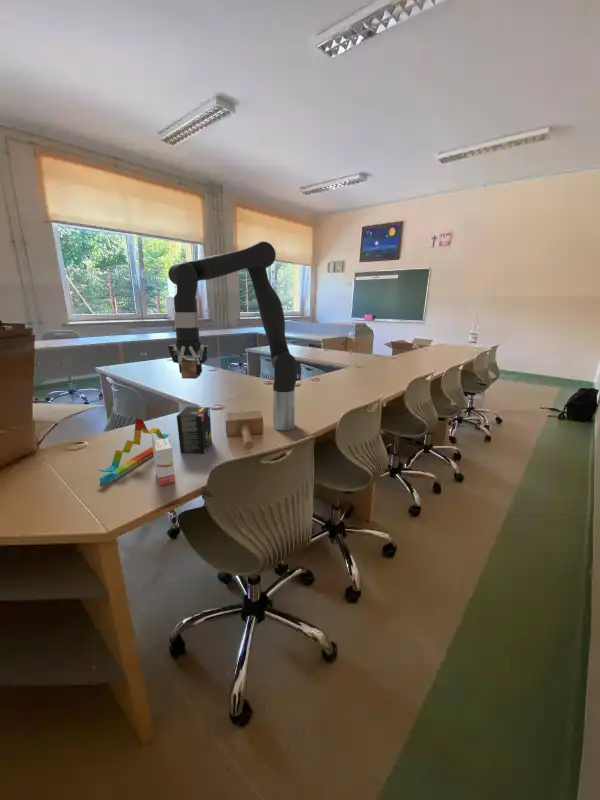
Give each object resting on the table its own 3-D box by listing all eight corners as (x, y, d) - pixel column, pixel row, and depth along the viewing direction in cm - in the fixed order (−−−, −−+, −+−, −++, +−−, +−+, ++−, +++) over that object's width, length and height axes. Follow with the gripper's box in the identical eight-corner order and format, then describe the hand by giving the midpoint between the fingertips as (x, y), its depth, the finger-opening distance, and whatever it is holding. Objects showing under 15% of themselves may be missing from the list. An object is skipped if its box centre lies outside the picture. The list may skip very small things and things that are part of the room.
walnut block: (200, 375, 124) (199, 358, 122) (196, 378, 119) (194, 361, 117) (186, 375, 124) (185, 358, 122) (181, 378, 119) (180, 360, 117)
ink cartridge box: (176, 482, 105) (171, 438, 101) (159, 486, 103) (153, 441, 98) (171, 470, 112) (166, 429, 108) (155, 474, 110) (150, 431, 105)
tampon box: (204, 453, 124) (201, 416, 120) (179, 453, 124) (175, 415, 120) (212, 441, 135) (210, 406, 130) (189, 441, 135) (186, 406, 130)
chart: (109, 485, 103) (101, 439, 99) (100, 483, 104) (92, 438, 100) (171, 445, 131) (167, 408, 127) (164, 444, 132) (159, 407, 128)
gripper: (210, 325, 119) (213, 372, 125) (170, 324, 120) (174, 371, 125) (204, 327, 112) (208, 377, 117) (161, 326, 112) (167, 376, 117)
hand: (191, 374), depth 121 cm, fingers closed on walnut block, 5 cm apart
